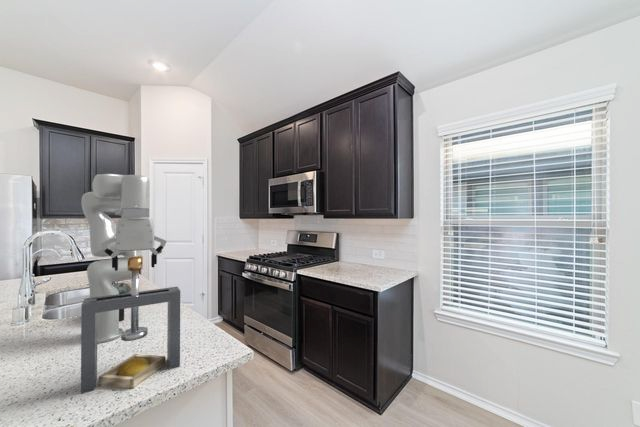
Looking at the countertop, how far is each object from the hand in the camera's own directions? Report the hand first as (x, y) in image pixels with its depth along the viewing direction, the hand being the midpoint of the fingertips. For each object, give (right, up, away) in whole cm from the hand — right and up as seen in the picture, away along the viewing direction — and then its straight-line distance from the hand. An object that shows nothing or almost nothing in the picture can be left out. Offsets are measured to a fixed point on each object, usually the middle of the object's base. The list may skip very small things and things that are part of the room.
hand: (135, 268), depth 87 cm
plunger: (0, -21, 0) cm, 21 cm away
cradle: (0, -33, 0) cm, 33 cm away
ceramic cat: (-42, -34, +48) cm, 72 cm away
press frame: (0, -33, 0) cm, 33 cm away
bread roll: (0, -34, 0) cm, 34 cm away
